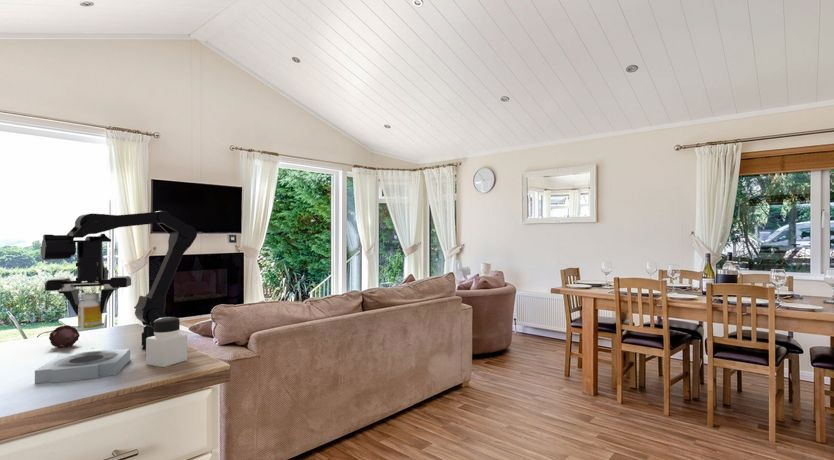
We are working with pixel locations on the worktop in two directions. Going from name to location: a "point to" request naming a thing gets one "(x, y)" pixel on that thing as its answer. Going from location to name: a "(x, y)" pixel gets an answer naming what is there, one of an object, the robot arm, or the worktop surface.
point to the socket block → (82, 366)
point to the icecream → (64, 336)
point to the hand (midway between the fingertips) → (90, 313)
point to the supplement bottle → (89, 312)
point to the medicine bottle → (166, 343)
